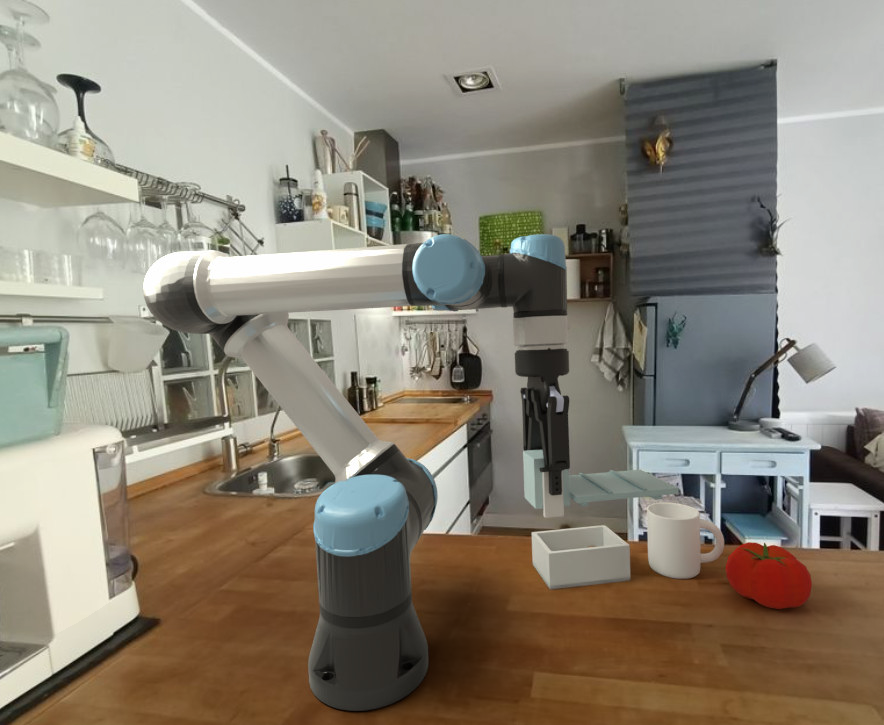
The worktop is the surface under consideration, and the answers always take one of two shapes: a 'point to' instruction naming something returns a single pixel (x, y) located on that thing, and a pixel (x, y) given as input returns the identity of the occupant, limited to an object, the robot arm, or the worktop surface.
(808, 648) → the worktop surface
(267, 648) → the worktop surface
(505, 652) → the worktop surface
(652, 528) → the mug
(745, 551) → the tomato
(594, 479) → the lid
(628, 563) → the tub
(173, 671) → the worktop surface
